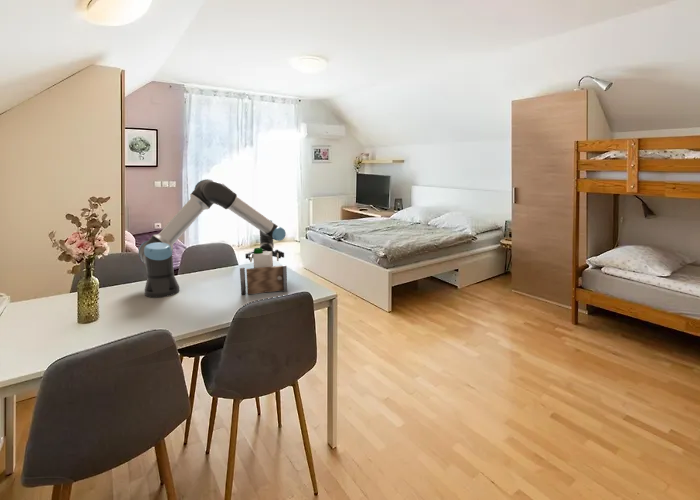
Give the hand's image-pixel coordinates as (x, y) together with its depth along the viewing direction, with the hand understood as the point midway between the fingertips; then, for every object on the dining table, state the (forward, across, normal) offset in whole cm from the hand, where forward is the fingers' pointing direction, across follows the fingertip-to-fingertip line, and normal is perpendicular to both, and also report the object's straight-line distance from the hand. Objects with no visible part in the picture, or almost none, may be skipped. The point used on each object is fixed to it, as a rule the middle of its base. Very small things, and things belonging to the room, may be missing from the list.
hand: (264, 259), depth 206 cm
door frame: (+17, 0, -13) cm, 21 cm away
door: (+17, -2, -12) cm, 21 cm away
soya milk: (+8, 0, -13) cm, 15 cm away
